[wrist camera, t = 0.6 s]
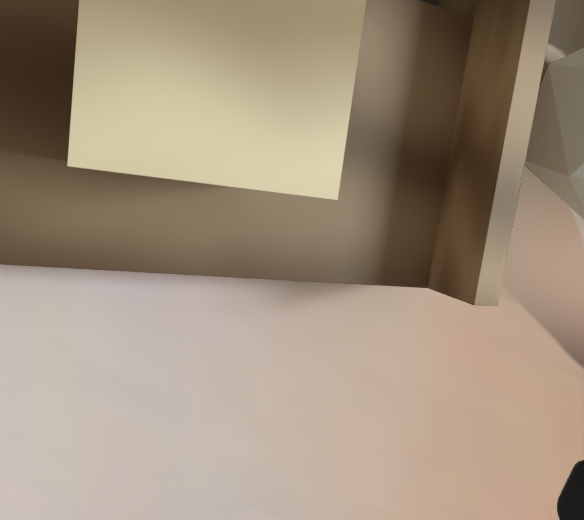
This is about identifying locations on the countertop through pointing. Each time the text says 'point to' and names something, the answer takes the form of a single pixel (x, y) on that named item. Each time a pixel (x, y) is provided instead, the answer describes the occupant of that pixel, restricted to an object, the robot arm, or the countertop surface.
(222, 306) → the countertop surface
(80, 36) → the maple block
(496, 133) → the trap box
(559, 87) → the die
